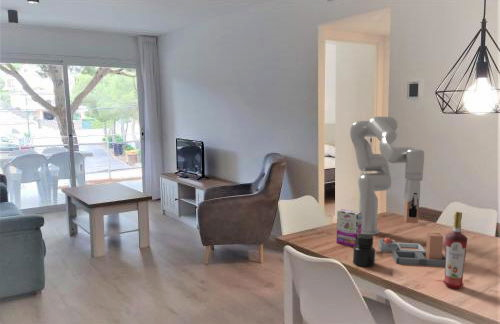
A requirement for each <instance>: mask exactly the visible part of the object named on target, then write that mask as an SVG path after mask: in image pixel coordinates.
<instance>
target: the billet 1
mask: <svg viewBox="0 0 500 324" xmlns="http://www.w3.org/2000/svg"><path fill="white" fill-rule="evenodd" d="M417 200H418V199H417ZM412 202H414V200H412ZM417 203H418V204H417V216H416V217H409V208H410V202H408V201H407V200H406V199H405V198H404V214H403V220H404V222H405V223H406V224H408V223H410V224H411V223H412V224H418V223H419V209H420V201H419V202H418V201H417ZM412 204H414V203H412Z"/></svg>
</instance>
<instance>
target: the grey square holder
mask: <svg viewBox="0 0 500 324" xmlns="http://www.w3.org/2000/svg"><path fill="white" fill-rule="evenodd" d="M384 240H385V238H378V250H379V252H380V254H382V252H388V253H390V252H391V253H392V251H398V250H397V243H398V242H396V240H395V239H393V238H391V243H384Z"/></svg>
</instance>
